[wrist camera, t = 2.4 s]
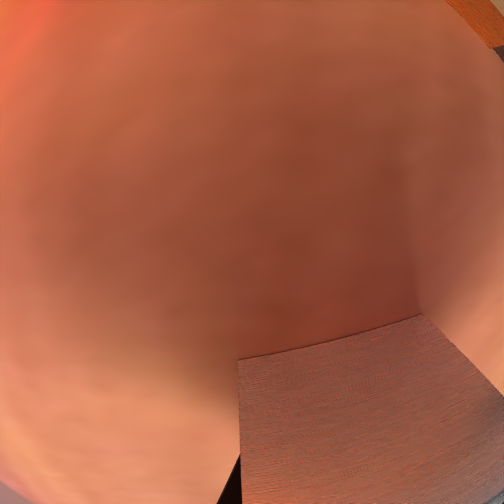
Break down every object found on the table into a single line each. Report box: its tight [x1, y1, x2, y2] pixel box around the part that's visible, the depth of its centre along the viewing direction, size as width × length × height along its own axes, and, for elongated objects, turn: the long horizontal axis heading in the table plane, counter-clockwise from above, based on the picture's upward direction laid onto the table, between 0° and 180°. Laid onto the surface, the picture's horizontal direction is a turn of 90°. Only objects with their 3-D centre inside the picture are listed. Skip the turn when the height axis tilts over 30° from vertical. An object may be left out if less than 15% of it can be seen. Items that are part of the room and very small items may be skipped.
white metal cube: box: [238, 314, 504, 504], centre depth 6 cm, size 6×6×6 cm
